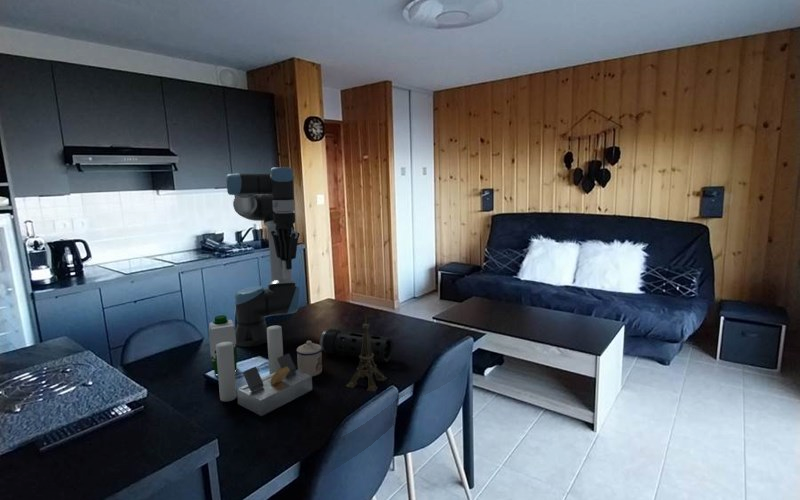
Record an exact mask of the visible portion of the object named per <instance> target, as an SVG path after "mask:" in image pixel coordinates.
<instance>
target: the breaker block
mask: <svg viewBox="0 0 800 500" xmlns="http://www.w3.org/2000/svg"><path fill="white" fill-rule="evenodd" d="M275 373H276V372H275ZM275 373H272V374H268V375H265V376H264V377H261V379H262V381H263V385H264V386H263V387H262V388H259V389H257V390H255V391H253V392H251V390H250V389H249V387H248V384H247V383H246V384H245V385H242V386H240V387H239V388H238V387H237V388H236V392H237V397H236V399H237V405H239V406H241V407H243V408H245V409H247V410H249V411H251V412H253V413H255V414H256V415H259V416H260V417H264V416H265V415H266V414H268V413H270V412H272V411H274V410H276V409H278V408H281V407H282V406H284V405H286V404H287V403H290V402H292V401H293V400H295V399H297V398H300V397H301V396H303V395H305V394H308V393H309V392H311V391H313V376H311V375H308V374H306V373H303V372H301V371H298V369H296V372H295V373H292V374H290V375H288V376H286V377H285V378H284V380H282V381H280V382H277V383H275V384H273V385H271V384H270V381H271V379H272V377H273V376H274V374H275Z"/></svg>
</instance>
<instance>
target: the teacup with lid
mask: <svg viewBox="0 0 800 500" xmlns="http://www.w3.org/2000/svg"><path fill="white" fill-rule="evenodd" d="M295 351H296V355H297V370H298V371H301V372H303V373H306V374H308V375H311V376H312V377H315V376H318V375H320V374H321V373H322V372H323V360H322V359H323V355H322V354H323V353H322V351H323V350H322V347H321V346H320V344H318V343H314V342H312V340H307V341H306V343H304V344H302V345H299V346H298V347H297V348H296V350H295Z"/></svg>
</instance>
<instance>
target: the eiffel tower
mask: <svg viewBox="0 0 800 500" xmlns="http://www.w3.org/2000/svg"><path fill="white" fill-rule="evenodd" d="M364 321H365V322H364V323H363V324H362V327H361V328H362V329H363V332H362V334H363V342H362V351H361V355H359V358H360V359H359V358H358V359H359V364H358V366H357V368H356V371H355V372H354V374H353V376H352V377H351V379H350V381H349V383H347V384H346V385H345V387H348V388H351V389H352V388H353V389H354V387H356V386H357V385H358V382H357V381H358V380H359V378H363V379H364V378H365V377H367V379H368V381H367V382H368V383H367V385H368V387H367V389H366V391H369V392H374V393H375V392H376V391H377V390H378V388H379V387H378V386H377V384H376V382H375V381H374V379H373V374H374V376H375V377H376V381H380V382H385V381H386V380H387V379H388V377H386V376H385V375H384V374H383V373H382V371H381V370H380V369H378V367H377V364H376V362H375V361H374V360H373V356H374V354H373V353H372V352H371V345H370V339H369V335H370V333H369V332H370V331H369V328H370V327H371V326H370V324H369V323H367V312H365V318H364Z"/></svg>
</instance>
